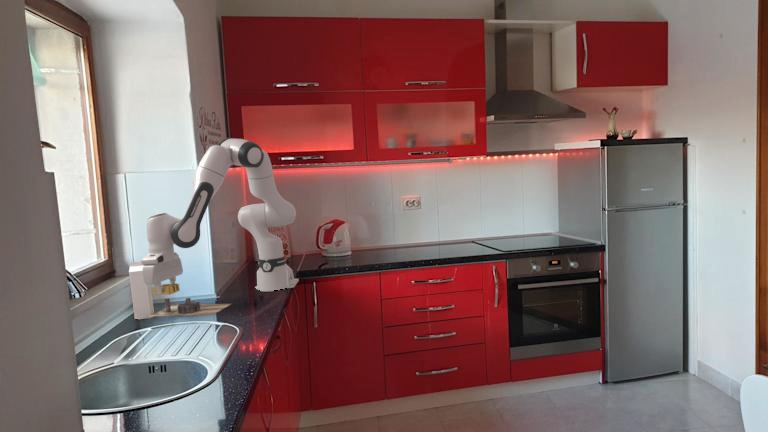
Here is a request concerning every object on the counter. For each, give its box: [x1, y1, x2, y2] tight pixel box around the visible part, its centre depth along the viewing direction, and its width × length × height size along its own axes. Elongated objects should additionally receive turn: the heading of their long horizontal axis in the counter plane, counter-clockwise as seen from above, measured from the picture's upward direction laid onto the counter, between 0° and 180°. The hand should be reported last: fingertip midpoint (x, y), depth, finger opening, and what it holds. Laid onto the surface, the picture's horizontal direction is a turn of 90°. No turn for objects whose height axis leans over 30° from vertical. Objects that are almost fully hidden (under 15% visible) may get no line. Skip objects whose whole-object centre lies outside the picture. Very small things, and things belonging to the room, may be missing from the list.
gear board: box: [147, 297, 232, 319], centre depth 201 cm, size 15×27×6 cm, turn 79°
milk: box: [128, 260, 155, 320], centre depth 201 cm, size 6×6×22 cm
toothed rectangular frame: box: [152, 282, 181, 296], centre depth 199 cm, size 6×8×3 cm
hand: (166, 291), depth 199 cm, fingers closed on toothed rectangular frame, 6 cm apart
